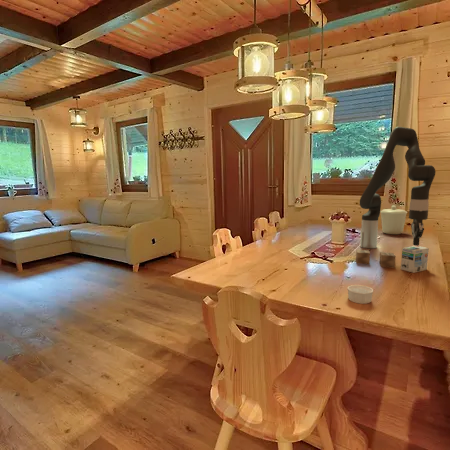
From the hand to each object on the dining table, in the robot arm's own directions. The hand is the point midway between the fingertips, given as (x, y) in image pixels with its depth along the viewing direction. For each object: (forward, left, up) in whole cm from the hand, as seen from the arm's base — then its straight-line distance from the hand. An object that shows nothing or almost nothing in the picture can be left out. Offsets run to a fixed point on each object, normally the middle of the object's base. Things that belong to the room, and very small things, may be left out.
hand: (415, 245), depth 148 cm
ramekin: (-28, -45, -12) cm, 54 cm away
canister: (+7, +94, -12) cm, 95 cm away
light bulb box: (0, 0, -12) cm, 12 cm away
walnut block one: (-11, +4, -12) cm, 17 cm away
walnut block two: (-22, +7, -12) cm, 26 cm away
